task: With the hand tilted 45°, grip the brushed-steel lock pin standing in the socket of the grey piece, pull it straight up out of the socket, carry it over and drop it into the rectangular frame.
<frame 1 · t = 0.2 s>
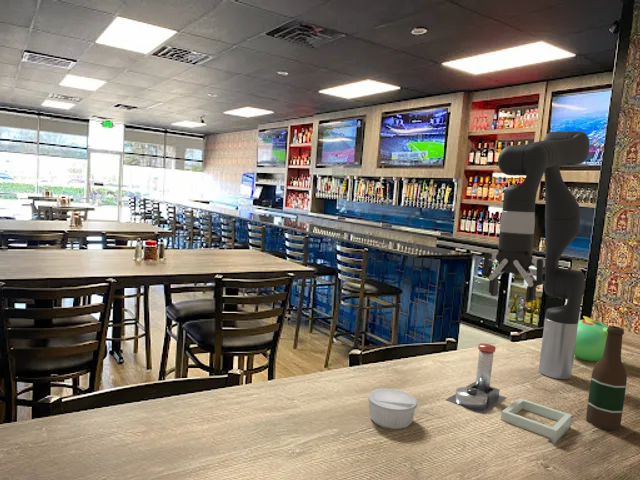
hand: (510, 298, 115), 29 cm above the table, tool pointing down, fingers open, 8 cm apart
ramekin: (390, 421, 111), on the table
beer bottle: (602, 424, 117), on the table
green rounded piece: (589, 360, 169), on the table
grey piece: (481, 399, 126), on the table
rectangular frame: (535, 425, 113), on the table
lock pin: (481, 395, 126), point 1 cm above the table, touching grey piece
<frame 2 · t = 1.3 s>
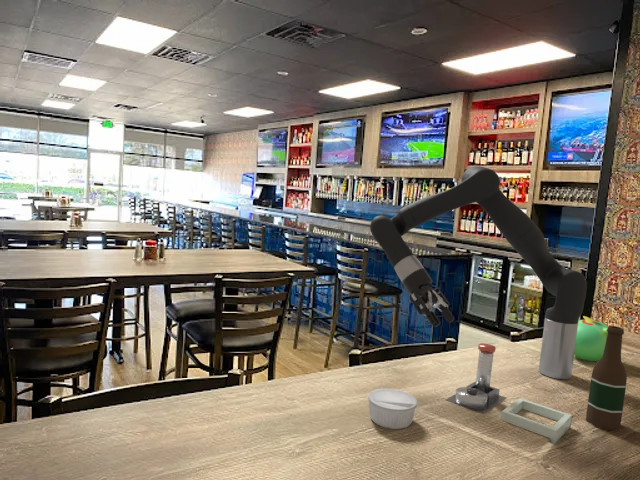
hand: (444, 323, 132), 18 cm above the table, tool tilted 45°, fingers open, 8 cm apart
nothing on the table moved.
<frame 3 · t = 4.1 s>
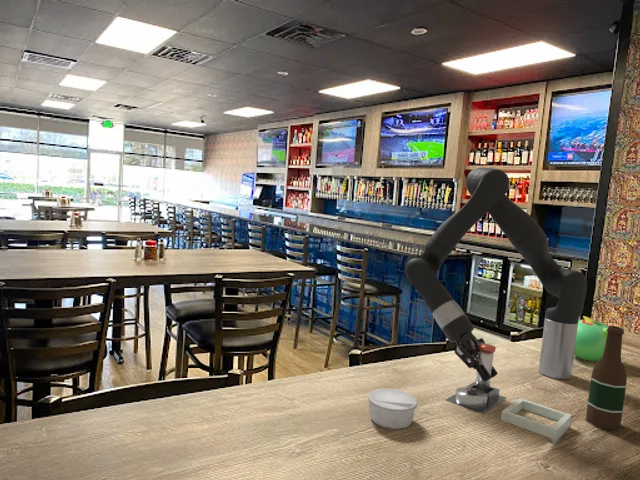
hand: (491, 377, 124), 7 cm above the table, tool tilted 45°, fingers closed on lock pin, 3 cm apart
lock pin: (481, 395, 126), point 1 cm above the table, touching gripper, grey piece
everything else where it was.
when the fingers open (8 cm above the table, at t = 9.5 s): lock pin drops 2 cm, resting on rectangular frame.
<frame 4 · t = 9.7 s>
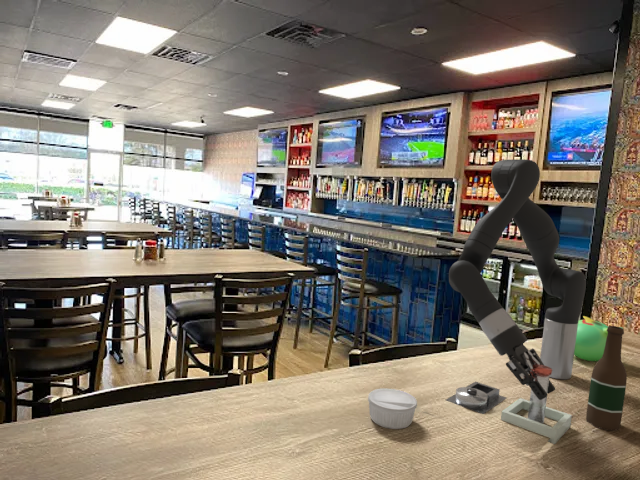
hand: (547, 394, 111), 8 cm above the table, tool tilted 45°, fingers open, 5 cm apart
lock pin: (535, 422, 113), point 1 cm above the table, touching rectangular frame
everything else where it was.
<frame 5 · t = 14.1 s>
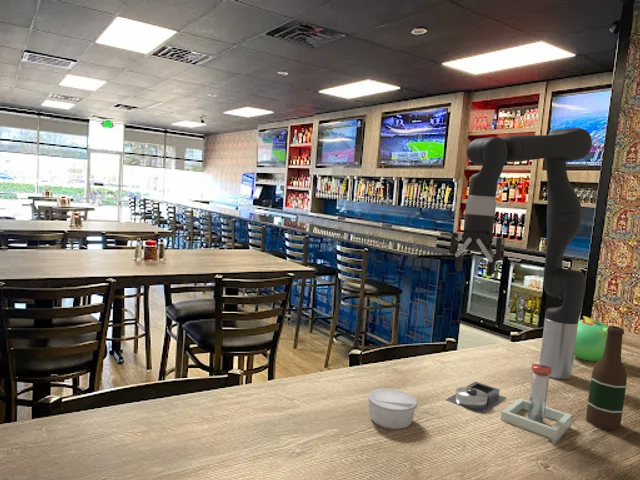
hand: (473, 273, 130), 32 cm above the table, tool pointing down, fingers open, 8 cm apart
nothing on the table moved.
at the end: lock pin inside the target area on the rectangular frame (0.1 cm from its centre), point 0.6 cm above the rectangular frame's base; the gripper is holding nothing; lock pin inside the target area (8.5 cm from its centre), point 0.6 cm above the table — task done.
